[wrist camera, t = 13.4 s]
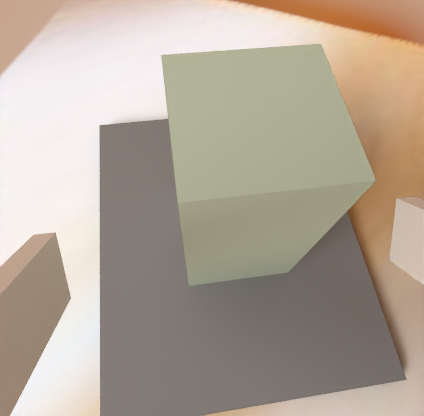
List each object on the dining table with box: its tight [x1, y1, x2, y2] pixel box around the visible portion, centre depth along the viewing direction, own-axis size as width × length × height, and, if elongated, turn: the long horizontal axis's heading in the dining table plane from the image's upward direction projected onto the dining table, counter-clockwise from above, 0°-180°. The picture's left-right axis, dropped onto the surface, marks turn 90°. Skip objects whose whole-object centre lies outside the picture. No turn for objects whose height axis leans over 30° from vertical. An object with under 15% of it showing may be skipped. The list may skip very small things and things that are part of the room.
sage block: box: [161, 44, 376, 286], centre depth 16 cm, size 6×6×11 cm
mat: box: [100, 119, 406, 416], centre depth 21 cm, size 16×19×1 cm
